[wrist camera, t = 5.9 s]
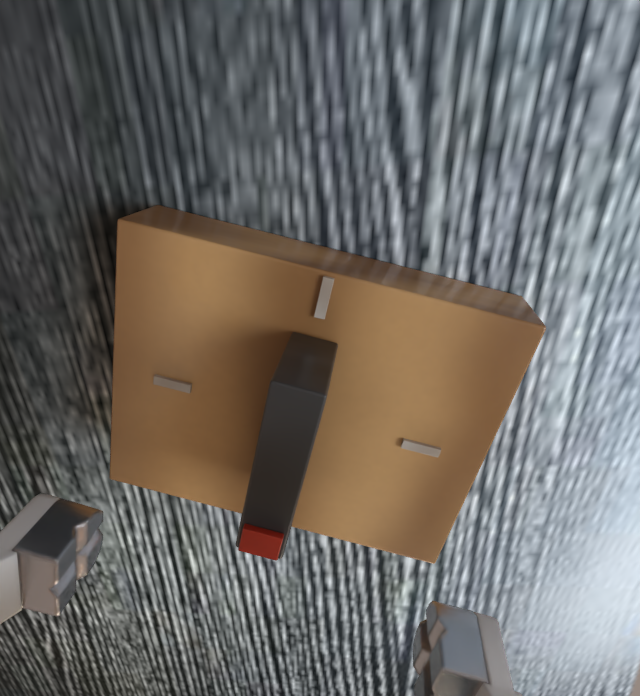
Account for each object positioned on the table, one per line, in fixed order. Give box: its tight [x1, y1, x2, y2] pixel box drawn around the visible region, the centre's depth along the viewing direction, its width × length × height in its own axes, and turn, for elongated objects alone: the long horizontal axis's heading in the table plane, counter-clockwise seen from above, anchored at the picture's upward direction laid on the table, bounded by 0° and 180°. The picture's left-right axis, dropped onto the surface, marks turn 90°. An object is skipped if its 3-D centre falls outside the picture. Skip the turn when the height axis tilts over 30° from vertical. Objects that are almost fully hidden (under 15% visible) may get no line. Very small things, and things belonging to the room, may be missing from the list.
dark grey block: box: [236, 332, 338, 560], centre depth 16 cm, size 6×2×4 cm, turn 167°
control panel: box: [110, 205, 546, 563], centre depth 19 cm, size 14×11×3 cm
